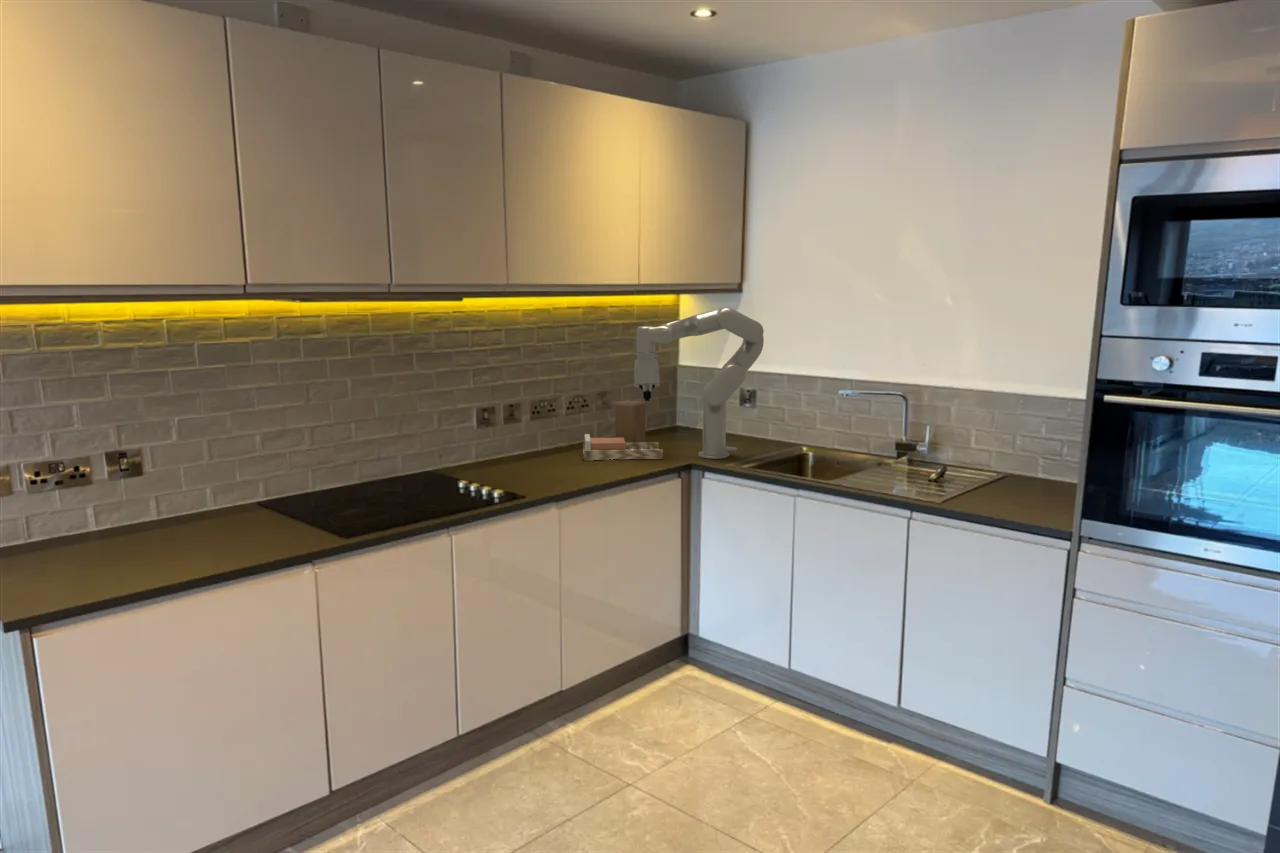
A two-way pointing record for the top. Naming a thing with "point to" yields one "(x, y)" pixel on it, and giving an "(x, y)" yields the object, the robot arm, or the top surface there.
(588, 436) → the end stop
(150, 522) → the top surface
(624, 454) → the roller bed
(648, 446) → the rollers
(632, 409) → the wooden block
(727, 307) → the robot arm
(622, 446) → the slab
